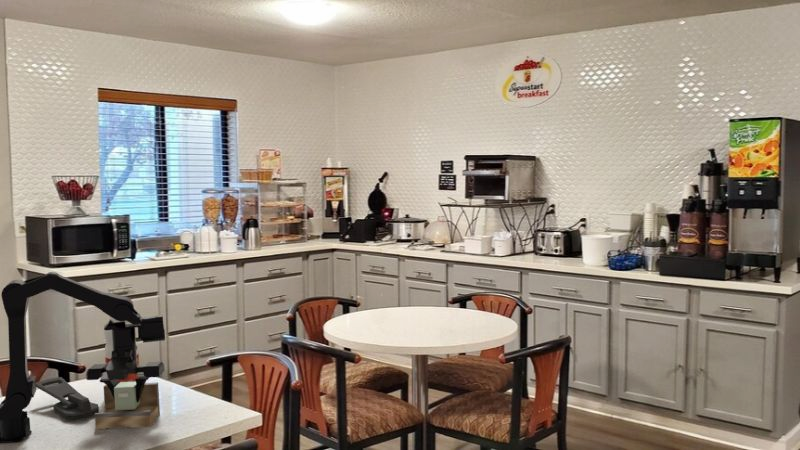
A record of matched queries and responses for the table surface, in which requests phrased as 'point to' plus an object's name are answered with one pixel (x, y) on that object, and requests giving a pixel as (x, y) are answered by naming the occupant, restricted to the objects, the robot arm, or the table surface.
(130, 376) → the fruit juice
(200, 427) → the table surface
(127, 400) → the cabinet block
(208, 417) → the table surface
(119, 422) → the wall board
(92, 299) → the robot arm
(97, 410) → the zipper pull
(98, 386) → the table surface
